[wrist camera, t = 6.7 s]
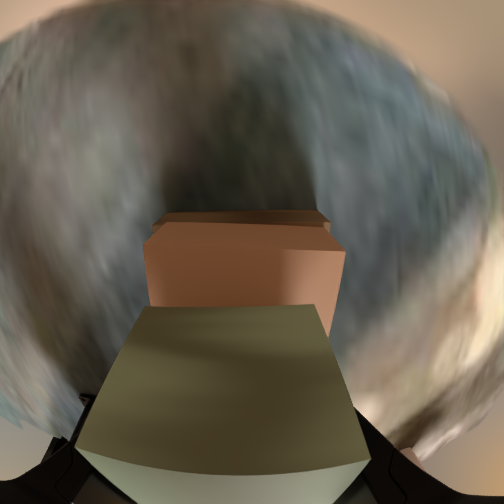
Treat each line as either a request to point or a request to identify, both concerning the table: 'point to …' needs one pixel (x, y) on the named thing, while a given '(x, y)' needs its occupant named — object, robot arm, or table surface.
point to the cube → (226, 410)
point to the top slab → (243, 266)
